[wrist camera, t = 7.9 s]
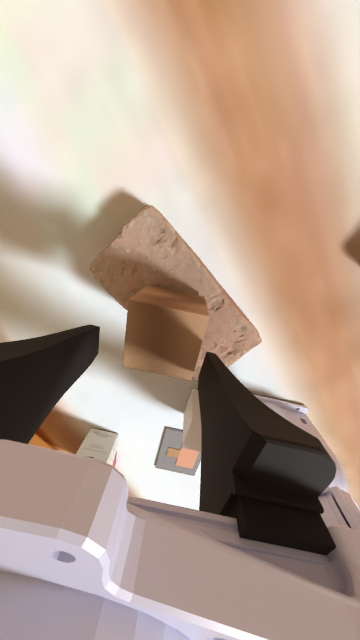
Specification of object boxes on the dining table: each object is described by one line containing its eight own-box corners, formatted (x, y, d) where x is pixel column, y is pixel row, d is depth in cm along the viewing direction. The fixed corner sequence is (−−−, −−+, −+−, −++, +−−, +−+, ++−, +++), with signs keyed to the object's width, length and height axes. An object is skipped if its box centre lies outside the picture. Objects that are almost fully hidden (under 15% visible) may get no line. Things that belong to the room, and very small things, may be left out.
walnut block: (204, 296, 15) (209, 316, 11) (191, 345, 17) (191, 380, 12) (148, 284, 15) (128, 299, 11) (141, 335, 17) (122, 366, 12)
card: (209, 436, 27) (210, 439, 27) (194, 473, 31) (194, 476, 31) (166, 427, 27) (166, 429, 27) (155, 465, 31) (155, 468, 30)
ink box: (115, 464, 32) (75, 578, 21) (89, 459, 31) (34, 570, 20) (119, 432, 28) (74, 546, 17) (90, 426, 28) (26, 536, 17)
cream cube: (226, 395, 24) (235, 428, 20) (216, 420, 26) (221, 456, 22) (192, 387, 24) (192, 419, 20) (183, 413, 26) (182, 447, 21)
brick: (103, 265, 19) (78, 269, 15) (156, 206, 17) (144, 190, 13) (198, 362, 23) (200, 387, 19) (252, 324, 21) (269, 343, 17)
